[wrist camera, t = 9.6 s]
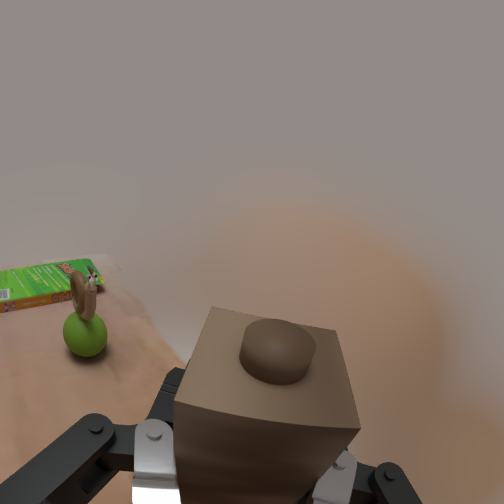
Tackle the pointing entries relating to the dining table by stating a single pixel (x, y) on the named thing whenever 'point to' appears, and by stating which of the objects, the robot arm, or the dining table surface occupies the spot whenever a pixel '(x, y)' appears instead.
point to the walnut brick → (260, 411)
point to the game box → (41, 284)
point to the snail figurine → (84, 318)
